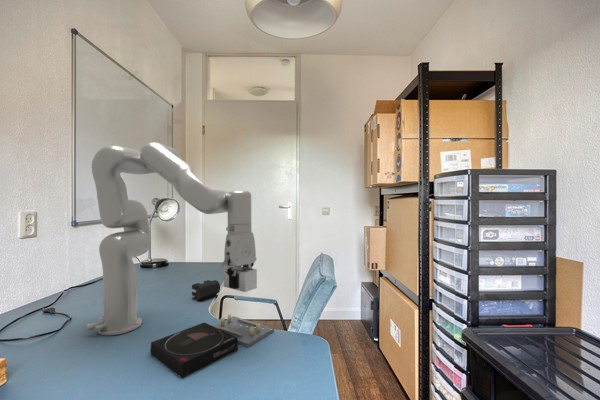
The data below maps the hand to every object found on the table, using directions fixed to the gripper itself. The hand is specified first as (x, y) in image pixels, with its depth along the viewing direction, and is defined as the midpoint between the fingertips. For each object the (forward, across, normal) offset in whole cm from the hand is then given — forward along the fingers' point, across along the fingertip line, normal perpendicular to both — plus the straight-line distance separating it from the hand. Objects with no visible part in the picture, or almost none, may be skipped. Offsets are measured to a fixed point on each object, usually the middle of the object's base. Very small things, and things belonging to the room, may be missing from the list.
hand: (239, 285), depth 93 cm
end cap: (+15, +16, +36) cm, 42 cm away
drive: (+1, 0, 0) cm, 1 cm away
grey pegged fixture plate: (+15, 0, 0) cm, 15 cm away
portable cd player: (+16, -16, +2) cm, 22 cm away
